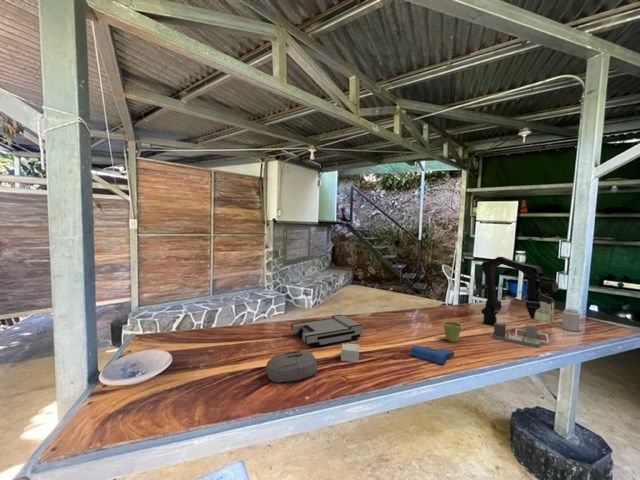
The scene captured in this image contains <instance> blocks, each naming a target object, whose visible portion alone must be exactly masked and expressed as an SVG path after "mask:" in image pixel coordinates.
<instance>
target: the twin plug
mask: <svg viewBox="0 0 640 480" xmlns="http://www.w3.org/2000/svg"><path fill="white" fill-rule="evenodd" d="M506 327H507V325H506V323H504V322H499V321H497V322H495V324H494V325H493V333H494V335H496V336H501V337H505V334H506V332H507V331H506V330H507V329H506Z"/></svg>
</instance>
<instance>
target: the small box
mask: <svg viewBox="0 0 640 480" xmlns="http://www.w3.org/2000/svg"><path fill="white" fill-rule="evenodd" d="M359 358H360V344H359V343H358V344H357V343H348V342H345V343H342V345H341V349H340V362H350V363H359Z"/></svg>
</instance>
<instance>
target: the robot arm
mask: <svg viewBox="0 0 640 480" xmlns="http://www.w3.org/2000/svg"><path fill="white" fill-rule="evenodd" d="M502 265H503V266H507V267H509V268H512V269H514V270H517V271H519V272H521V273H522V274H524V277H522V280H525V281H526V295H525V307H526V310H527V313H528V315H529V317H530V319H534V315H535V312H536V310H537V309H539V308H540V302H539V301H540V300H541V301H543V302H545V303H547V304H551V302H552V300H554V298H552V296H551V297H550V294H549V293H557V291H558V289H559V284H558V282H557V279H556V278H548V277H547V276H546V275H545V274H544V272H543V269H542V267H541V266H538V265H533V264H525V263H521V262H519V261H516V260H513V259H510V258H507V257H504V256H497V257H495V258H493V259H489V260H487V261H483V262H482V263H481V265H480V266H481V269H482V272H483V274H484V276H485V284H486V294H487V299H486V301H485V307H484V308H482V309H481V310H480V311H481V314H483V321H482V324H483V325H488V326H494V324H495V322H498V321H497V319H498V316H497V315H498V314H499V312H501V310H502V308H503V307H502V301H501V300H498V298H497V287H496V286H497V285H496V276H495V275H496V272H497V268H498V267H500V266H502ZM541 291H543V292H549V293H545V294H543V293H541Z"/></svg>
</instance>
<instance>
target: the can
mask: <svg viewBox="0 0 640 480" xmlns="http://www.w3.org/2000/svg"><path fill="white" fill-rule="evenodd" d="M580 316H581V315H580V313H579V310H575V309H571V308H564V310H563V311H562V323H561V326H562V328H563V330H565V331H569V332H576V333H577V332H579V331H580Z"/></svg>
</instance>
